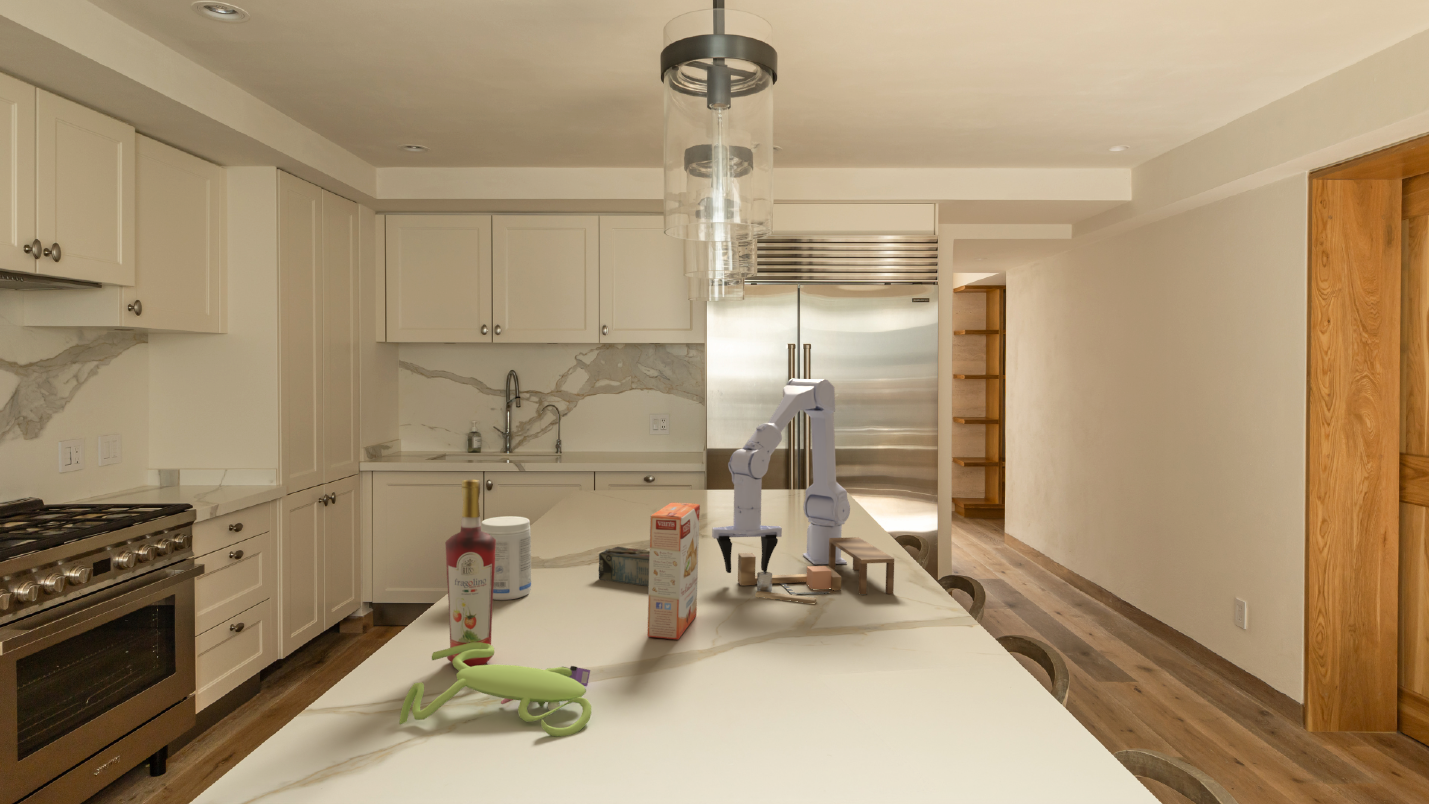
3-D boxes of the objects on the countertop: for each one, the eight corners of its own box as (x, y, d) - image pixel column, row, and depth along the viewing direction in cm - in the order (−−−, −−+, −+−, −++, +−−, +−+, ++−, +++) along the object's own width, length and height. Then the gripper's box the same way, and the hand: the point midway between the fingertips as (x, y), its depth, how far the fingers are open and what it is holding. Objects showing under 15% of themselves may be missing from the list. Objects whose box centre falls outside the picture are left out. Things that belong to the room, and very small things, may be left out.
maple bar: (758, 596, 164) (758, 590, 164) (816, 604, 159) (816, 598, 159) (755, 599, 162) (755, 593, 162) (814, 606, 158) (814, 600, 158)
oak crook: (827, 577, 176) (828, 550, 175) (840, 590, 168) (841, 561, 167) (737, 581, 172) (738, 553, 172) (747, 594, 164) (747, 564, 163)
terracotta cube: (806, 585, 171) (806, 566, 171) (824, 584, 172) (825, 565, 172) (812, 590, 167) (812, 571, 167) (830, 589, 168) (831, 570, 168)
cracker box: (681, 641, 136) (682, 516, 135) (646, 638, 137) (647, 514, 136) (699, 615, 149) (701, 502, 148) (667, 613, 151) (669, 500, 149)
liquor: (444, 674, 120) (444, 485, 118) (446, 657, 127) (446, 478, 125) (495, 670, 122) (496, 484, 120) (495, 653, 129) (495, 476, 127)
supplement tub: (518, 584, 168) (518, 513, 167) (539, 595, 160) (540, 521, 160) (472, 592, 162) (472, 519, 161) (492, 604, 154) (493, 527, 153)
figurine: (446, 671, 122) (446, 634, 122) (619, 685, 118) (619, 647, 118) (377, 725, 104) (376, 682, 104) (578, 743, 100) (578, 699, 100)
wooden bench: (828, 569, 184) (829, 538, 184) (857, 568, 185) (858, 537, 185) (860, 594, 164) (861, 559, 164) (893, 593, 166) (894, 558, 165)
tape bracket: (775, 579, 175) (775, 578, 175) (811, 577, 177) (811, 576, 177) (791, 595, 163) (791, 594, 163) (829, 593, 165) (829, 592, 165)
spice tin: (755, 591, 166) (755, 571, 166) (769, 590, 166) (770, 571, 166) (759, 595, 163) (759, 575, 163) (773, 594, 164) (773, 575, 163)
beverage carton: (616, 572, 180) (617, 542, 180) (695, 583, 172) (695, 552, 172) (597, 580, 173) (597, 549, 172) (678, 592, 165) (678, 560, 165)
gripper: (717, 511, 165) (715, 577, 166) (786, 509, 168) (784, 574, 168) (710, 504, 172) (709, 568, 173) (777, 503, 175) (775, 566, 175)
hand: (746, 571), depth 171 cm, fingers open, 7 cm apart
